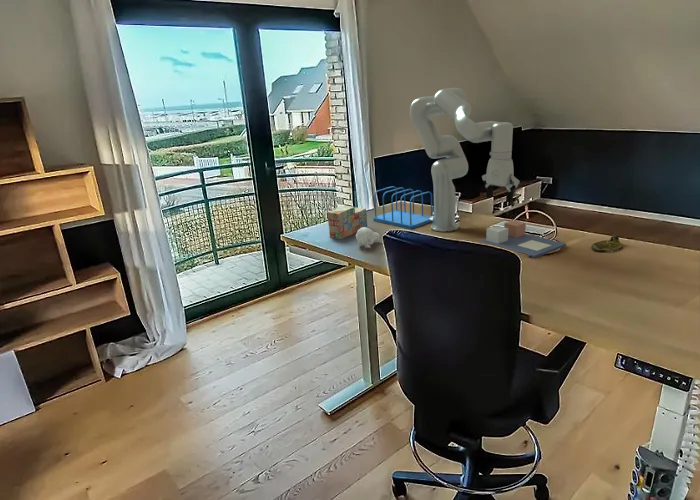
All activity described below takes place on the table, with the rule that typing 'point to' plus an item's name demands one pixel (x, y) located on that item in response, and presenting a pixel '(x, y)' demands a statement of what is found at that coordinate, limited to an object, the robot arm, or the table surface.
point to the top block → (515, 228)
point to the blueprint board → (529, 245)
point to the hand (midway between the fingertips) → (499, 199)
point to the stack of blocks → (346, 221)
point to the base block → (497, 234)
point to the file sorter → (403, 212)
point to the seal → (608, 245)
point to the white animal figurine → (366, 237)
